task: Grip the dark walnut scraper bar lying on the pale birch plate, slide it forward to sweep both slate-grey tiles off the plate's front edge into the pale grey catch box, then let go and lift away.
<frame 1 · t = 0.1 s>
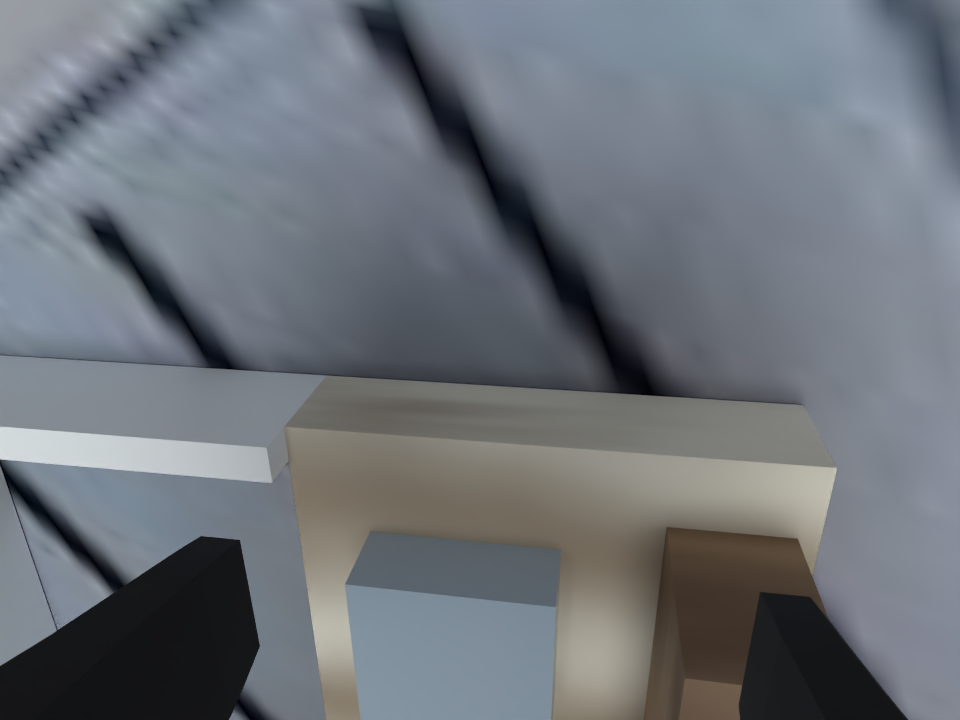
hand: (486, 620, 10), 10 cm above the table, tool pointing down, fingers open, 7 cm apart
birch plate: (543, 658, 24), on the table
catch box: (182, 615, 26), on the table
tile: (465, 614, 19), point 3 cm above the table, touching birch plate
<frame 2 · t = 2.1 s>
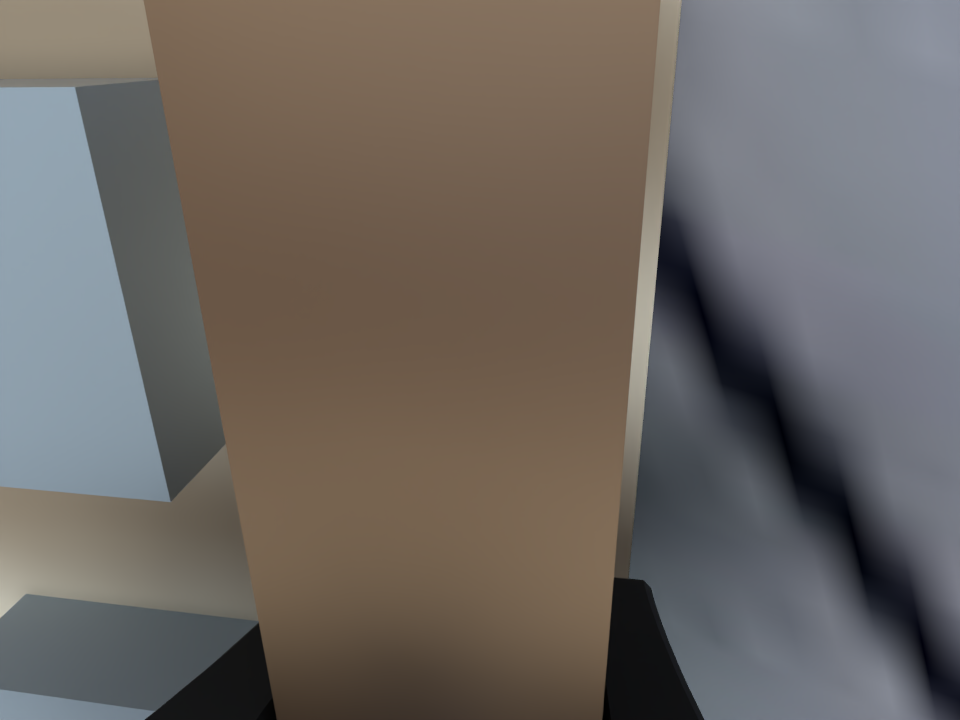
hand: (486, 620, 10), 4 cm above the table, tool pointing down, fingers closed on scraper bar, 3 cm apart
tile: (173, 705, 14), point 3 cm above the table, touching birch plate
scraper bar: (499, 554, 11), point 3 cm above the table, touching birch plate, gripper
birch plate: (302, 438, 15), on the table
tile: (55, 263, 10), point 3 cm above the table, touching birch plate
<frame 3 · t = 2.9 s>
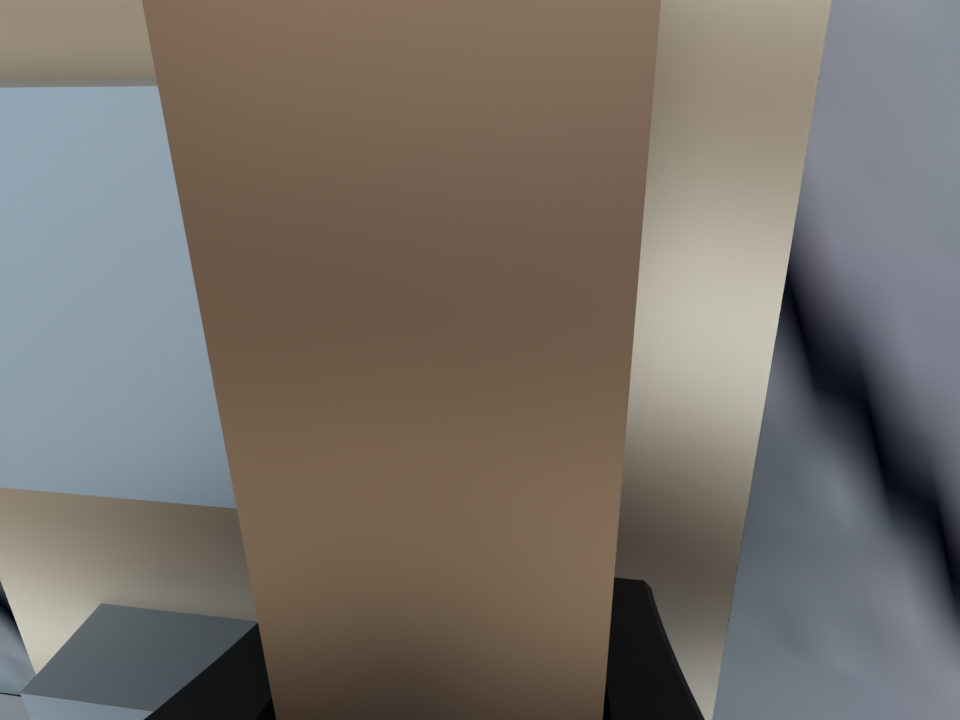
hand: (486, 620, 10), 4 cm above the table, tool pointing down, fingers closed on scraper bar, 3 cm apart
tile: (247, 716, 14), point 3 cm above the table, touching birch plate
scraper bar: (499, 556, 11), point 3 cm above the table, touching gripper
birch plate: (375, 443, 14), on the table
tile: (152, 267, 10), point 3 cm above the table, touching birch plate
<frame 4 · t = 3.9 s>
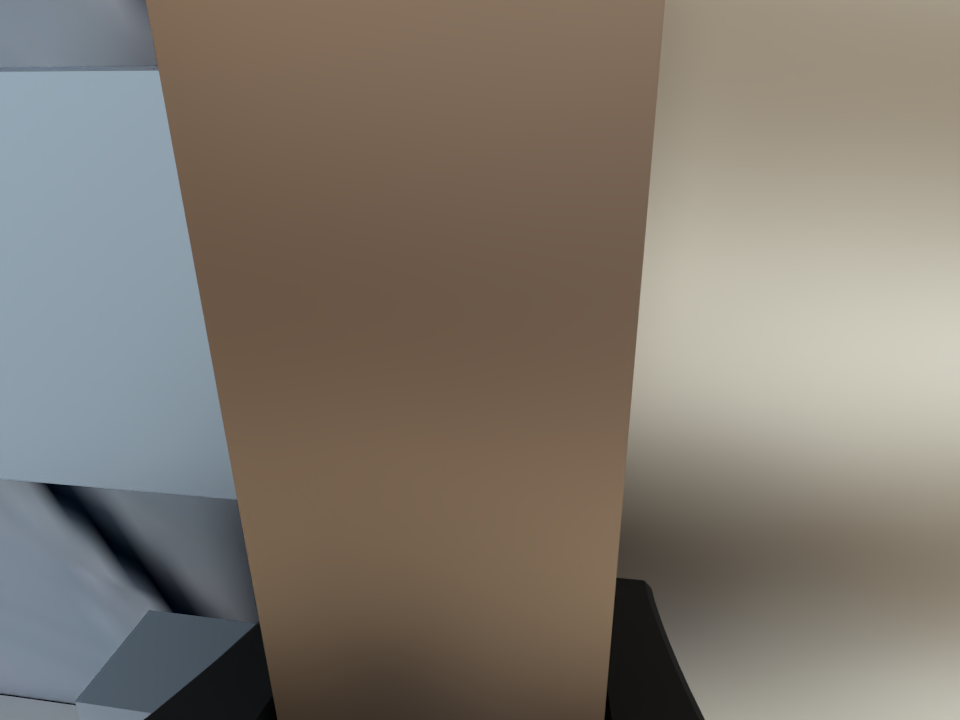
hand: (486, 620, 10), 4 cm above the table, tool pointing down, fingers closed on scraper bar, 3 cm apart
scraper bar: (500, 557, 11), point 3 cm above the table, touching gripper
birch plate: (659, 464, 13), on the table
catch box: (47, 421, 15), on the table
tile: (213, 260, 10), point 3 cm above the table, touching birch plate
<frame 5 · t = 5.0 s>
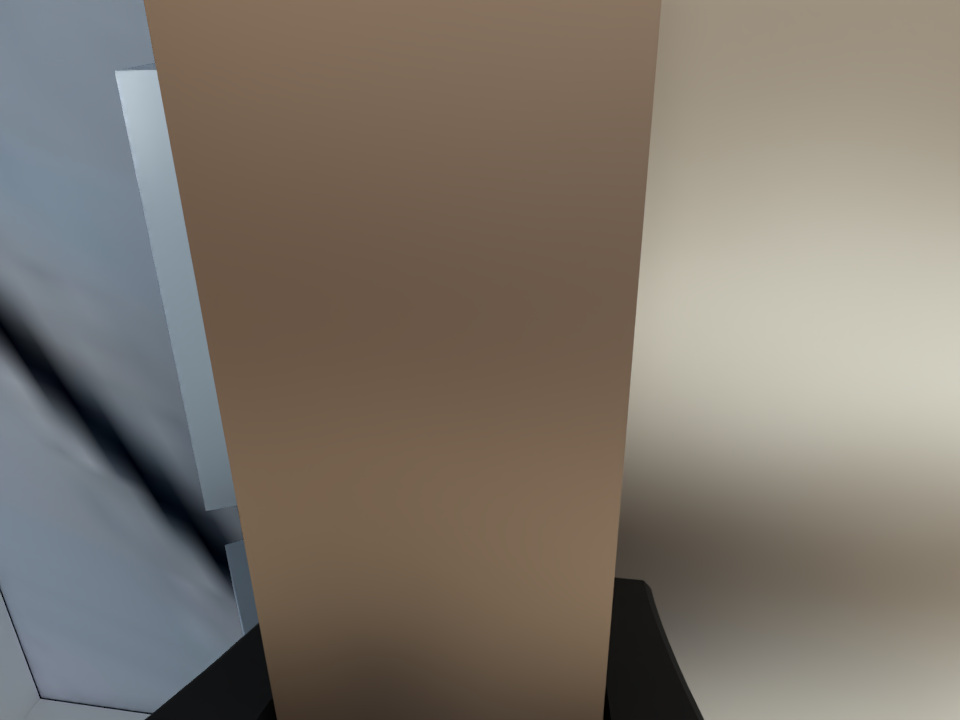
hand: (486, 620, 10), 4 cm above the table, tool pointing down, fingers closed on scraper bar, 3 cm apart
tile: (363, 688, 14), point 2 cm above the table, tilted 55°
scraper bar: (500, 558, 11), point 3 cm above the table, touching birch plate, gripper
birch plate: (807, 475, 13), on the table
catch box: (158, 427, 15), on the table
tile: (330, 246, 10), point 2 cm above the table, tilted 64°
when the fingers open (4 cm above the table, at t = 5.9 s): scraper bar stays where it is, resting on birch plate, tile.
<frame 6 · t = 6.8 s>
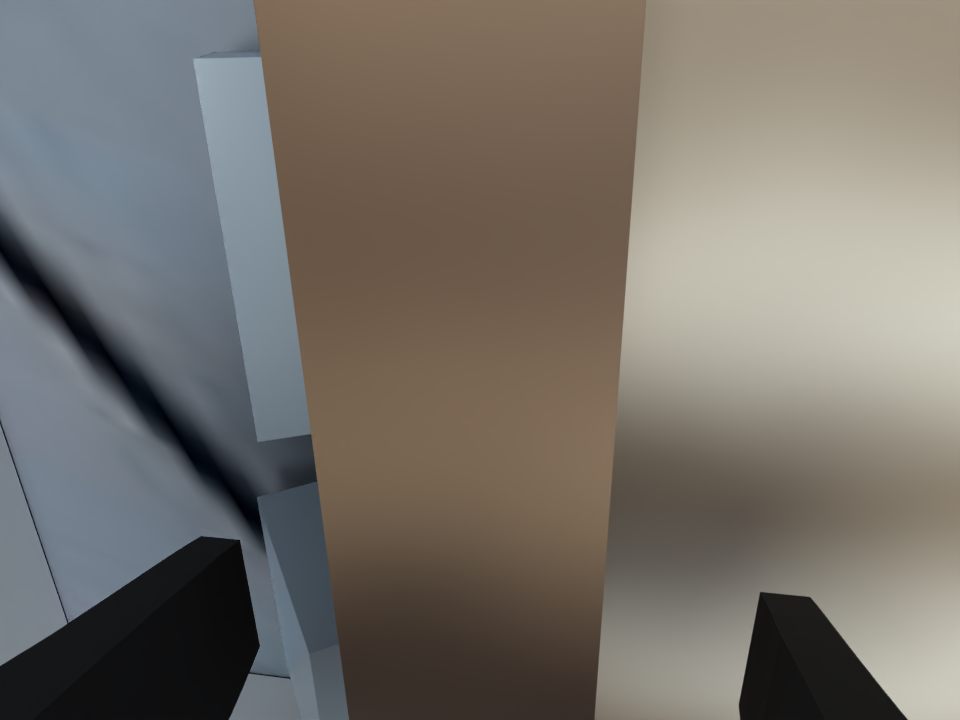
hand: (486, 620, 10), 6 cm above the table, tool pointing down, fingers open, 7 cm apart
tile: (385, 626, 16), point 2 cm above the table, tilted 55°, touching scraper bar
scraper bar: (511, 496, 13), point 3 cm above the table, touching birch plate, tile
birch plate: (787, 428, 14), on the table
catch box: (194, 390, 16), on the table
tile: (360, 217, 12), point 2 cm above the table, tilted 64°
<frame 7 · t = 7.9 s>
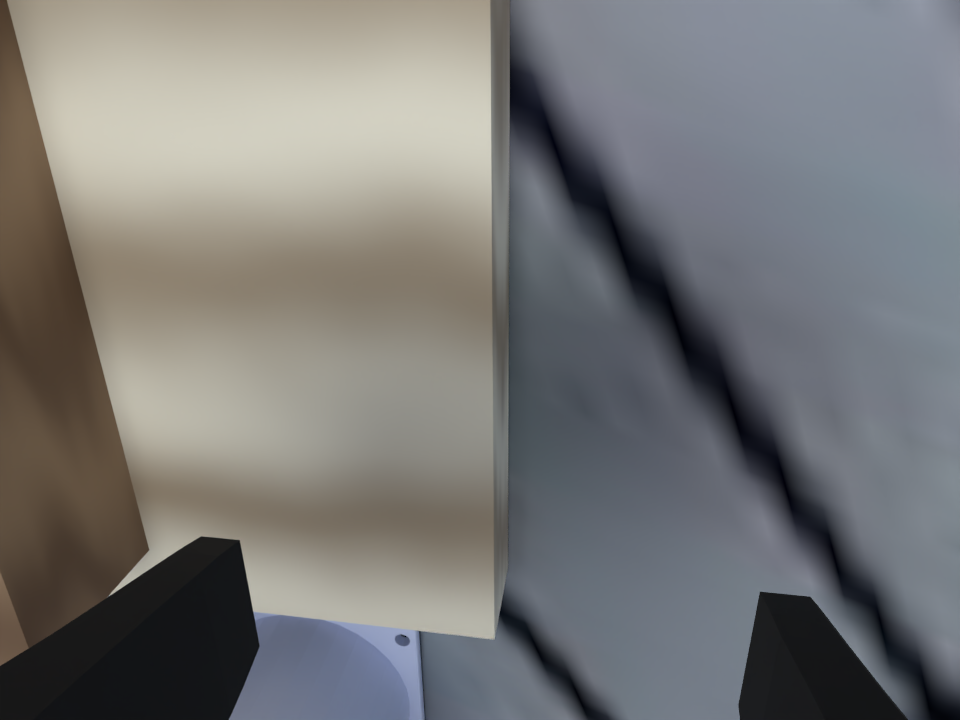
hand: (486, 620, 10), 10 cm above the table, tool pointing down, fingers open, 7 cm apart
scraper bar: (27, 287, 18), point 3 cm above the table, touching birch plate
birch plate: (275, 257, 20), on the table
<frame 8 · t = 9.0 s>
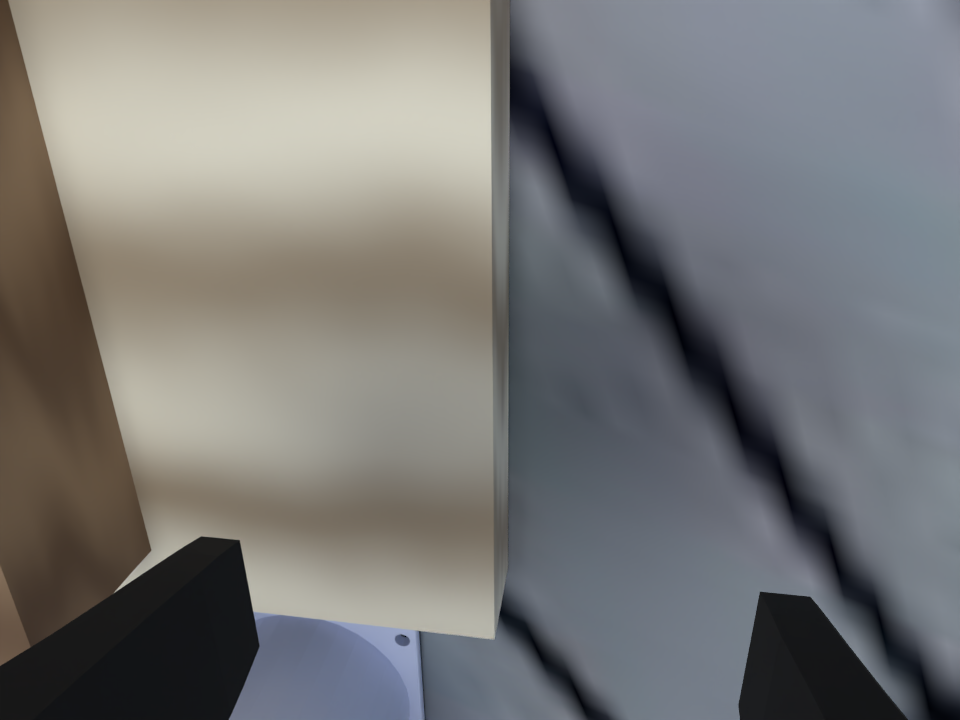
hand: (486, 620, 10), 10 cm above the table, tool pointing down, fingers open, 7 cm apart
scraper bar: (29, 287, 18), point 3 cm above the table, touching birch plate
birch plate: (275, 257, 20), on the table
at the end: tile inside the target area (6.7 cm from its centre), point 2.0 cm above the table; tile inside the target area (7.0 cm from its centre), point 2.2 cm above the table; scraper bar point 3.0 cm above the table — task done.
